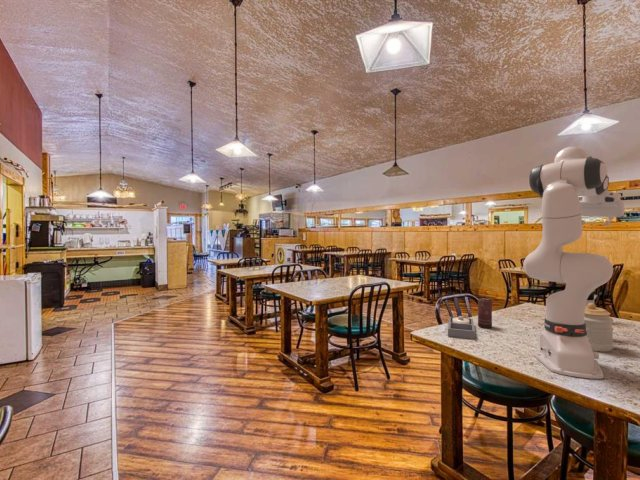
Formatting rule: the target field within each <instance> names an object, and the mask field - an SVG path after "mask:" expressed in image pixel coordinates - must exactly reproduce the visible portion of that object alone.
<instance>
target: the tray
mask: <svg viewBox="0 0 640 480" xmlns="http://www.w3.org/2000/svg"><path fill="white" fill-rule="evenodd" d="M453 318H458V317H457V316H448V324H447V325H448V326H447V337H448V338H458V339H465V340H466V339H467V340H476V329H475V323H474V319H473V318H471V317H470V318H468V317H465V318H466V319H469V320H470V324H465V323H453V322H452V319H453Z"/></svg>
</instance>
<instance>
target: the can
mask: <svg viewBox="0 0 640 480" xmlns="http://www.w3.org/2000/svg"><path fill="white" fill-rule="evenodd" d="M493 302H494V301H493V299H492V298H489V297H479V298H478V299H477V326H478V327H479V328H482V329H491V328H492V327H493Z"/></svg>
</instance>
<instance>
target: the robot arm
mask: <svg viewBox="0 0 640 480" xmlns="http://www.w3.org/2000/svg"><path fill="white" fill-rule="evenodd" d="M609 178H610V177H609V176H608V169H607V163H606V162H604V161H602V160H601V159H599V158H597V157H593V156H591V155H590V154H589V153H588V152H587V151H586V150H584V149H582V148H580V147H578V146H567V147H564V148H562V149H561V150H559V152H557V153H556V155H555V156H554V161H553V162H551V163H548V164H540V165H538V166H535V167H533V168H532V169H531V171H530V172H529V176H528V184H529V186H530V189H531V191H532V192H534V193H535V194H537V195H539V197H540V198H542V199H541V223H542V235H541V236H542V237H541V240H540V243H539V244H538V246H537V247H536V248H535V249H534V250H533V251H532V252H530V253H529V254H527V256H526V257H525V258H524V261H523V265H522V266H523V270H524V272H525V274H526V275H527V276H528V277H529V278H531V279H535V280H539V281H542V282H551V283H554V282H555V283H562V284H563V283H564V284H565V288H564V290H559V291H556V292H554V293H551V294H550V295H549V296H547V298H546V300H545V318H544V322H543V325H544V330H543V331H542V332H541V333H539V339H538V340H539V341H538V351H535V352H533V357H535V359H537V360H538V361H539V362H540V363H542V364H543V366H545V367H546V368H547V369H548V370H550V371H551V372H553V373H556V374H560V375H563V376H564V375H565V376H569V377H576V378H582V379H583V378H584V379H595V380H597V379H599V380H600V379H604V376H605V375H604V373H603V370H602V368H601V366H600V364H599V361H598V360H599V359H600V353H599V351H592V349H594V345H590V342H589V338H588V337H587V336H586V335H587V328H586V324H585V323H584V315H585V305H586V301H587V298H588V296H589V295H590V294H591V292H592V291H593V290H595V291H596V289H597V288H599V287H600V286H603V285H604V284H606V283H608V282H609V281H610V279H611V278H612V277H613V275H614V267H613V264H612V262H611V260H609V258H607V257H606V256H604V255H601V254H596V253H595V254H594V253H590V252H566V251H563V247H564V246H567V245H569V244H572V243H574V242H577V241H578V240H579V239H580V238H581V237H582V235H583V226H584V225H585V220H583V219H582V217H589V218H591V217H595V218H596V217H597V218H599V217H600V218H608V220H606V221H605V222H604V223H605V224H604V226H606V227H610V226H611V221H612V220H613V219H614V218H621V217H623V216H624V215H625V211H626V210H625V205H624V204H625V203H624V200H622V199H621V198H622V194H621V193H619V192H614V191H611V190H610V191H609V190H608V189H609V185H610V181H609V180H610V179H609Z"/></svg>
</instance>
